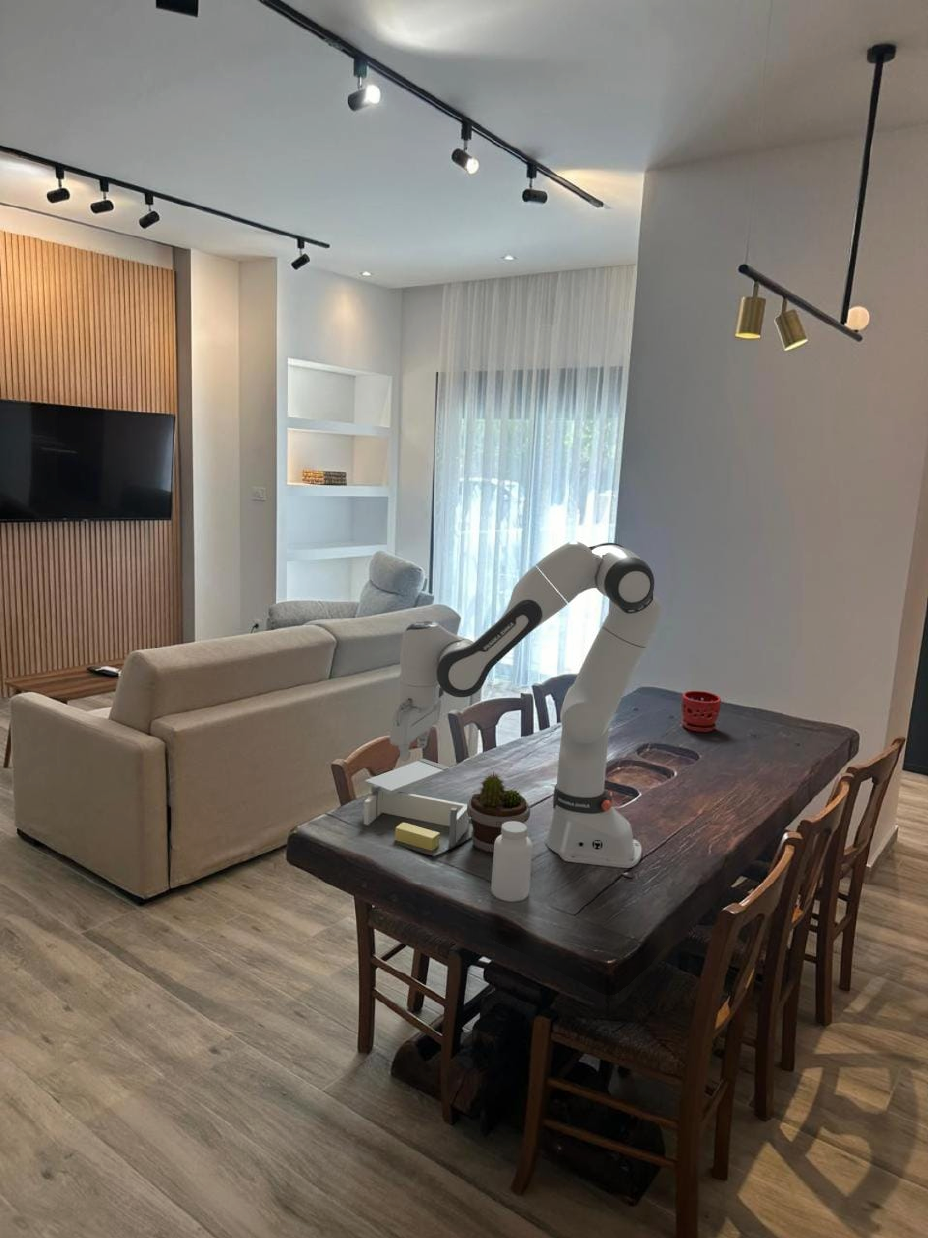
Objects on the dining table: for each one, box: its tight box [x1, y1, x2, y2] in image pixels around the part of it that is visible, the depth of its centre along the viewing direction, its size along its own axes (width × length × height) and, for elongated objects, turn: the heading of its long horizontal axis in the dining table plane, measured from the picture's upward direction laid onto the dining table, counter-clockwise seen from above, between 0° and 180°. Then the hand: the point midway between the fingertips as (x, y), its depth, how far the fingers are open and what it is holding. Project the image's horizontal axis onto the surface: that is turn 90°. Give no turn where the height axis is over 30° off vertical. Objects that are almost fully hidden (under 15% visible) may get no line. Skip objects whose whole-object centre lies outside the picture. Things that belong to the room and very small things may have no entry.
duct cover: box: [364, 758, 450, 795], centre depth 213 cm, size 24×9×1 cm, turn 141°
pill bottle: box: [490, 821, 533, 903], centre depth 172 cm, size 8×8×15 cm
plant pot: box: [681, 690, 722, 733], centre depth 289 cm, size 13×13×12 cm
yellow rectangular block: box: [394, 822, 441, 852], centre depth 194 cm, size 10×3×3 cm, turn 62°
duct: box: [363, 791, 471, 847], centre depth 201 cm, size 24×11×9 cm, turn 71°
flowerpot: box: [467, 770, 531, 856], centre depth 192 cm, size 14×15×20 cm
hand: (413, 753), depth 185 cm, fingers open, 8 cm apart
